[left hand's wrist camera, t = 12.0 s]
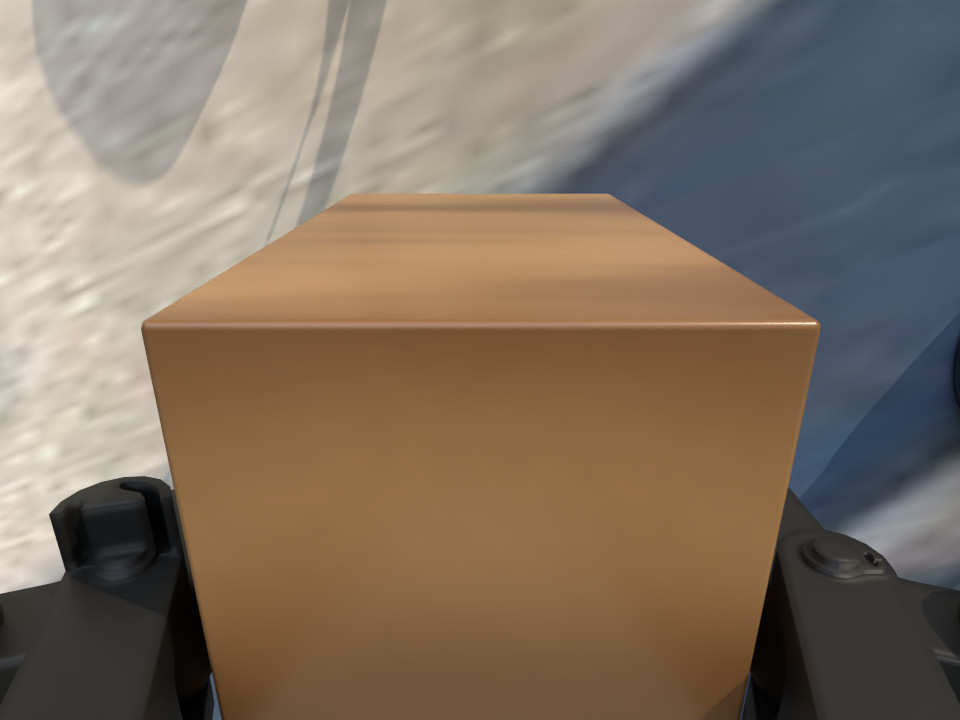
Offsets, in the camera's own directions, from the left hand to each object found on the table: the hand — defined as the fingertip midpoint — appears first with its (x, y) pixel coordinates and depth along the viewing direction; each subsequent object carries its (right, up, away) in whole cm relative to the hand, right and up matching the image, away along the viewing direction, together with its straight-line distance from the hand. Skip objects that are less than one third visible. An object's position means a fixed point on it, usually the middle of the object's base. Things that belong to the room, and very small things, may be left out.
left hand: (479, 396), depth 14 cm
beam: (0, -33, +14) cm, 36 cm away
